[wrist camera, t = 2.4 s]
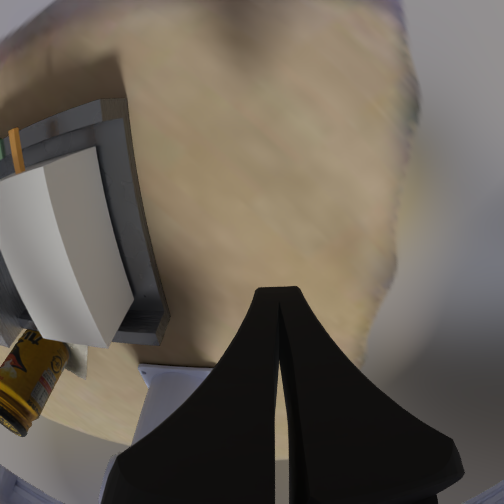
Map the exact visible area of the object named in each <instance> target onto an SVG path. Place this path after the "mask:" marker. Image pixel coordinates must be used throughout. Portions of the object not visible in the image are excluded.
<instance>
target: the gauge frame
mask: <svg viewBox="0 0 504 504" xmlns="http://www.w3.org/2000/svg"><path fill="white" fill-rule="evenodd" d="M19 136H20V143H21V149H22V155H23V161H24V166H25V168H26V167H28V166H30V165H33V164H36V163H39V162H42V161H45V160H48V159H51V158H55V157H58V156H61V155H65V154H68V153H72V152H75V151H79V150H83V149H87V148H90V147H94V146H96V153H97V159H98V164H99V170H100V175H101V180H102V185H103V190H104V194H105V199H106V203H107V208H108V212H109V216H110V220H111V224H112V228H113V232H114V235H115V239H116V243H117V246H118V250H119V253H120V257H121V260H122V263H123V267H124V270H125V273H126V276H127V279H128V282H129V285H130V288H131V291H132V294H133V297H134V301H133V303H132V304H131V306H130V308H129V310H128V312H127V313H126V315H125V317H124V319H123V321H122V323H121V324H120V326H119V328H118V330H117V332H116V334H115V336H114V338H113V340H112V342H119V343H130V344H142V345H156V346H160V344H161V341H162V338H163V336H164V333H165V330H166V328H167V325H168V322H169V320H170V317H171V316H170V313H169V309H168V306H167V302H166V299H165V295H164V292H163V288H162V285H161V281H160V277H159V273H158V269H157V266H156V262H155V258H154V253H153V249H152V245H151V241H150V236H149V232H148V228H147V223H146V218H145V213H144V209H143V204H142V198H141V193H140V188H139V182H138V177H137V171H136V165H135V158H134V152H133V145H132V138H131V130H130V122H129V113H128V104H127V98H114V99H98V100H95V101H92V102H89V103H86V104H83V105H80V106H77V107H75V108H72V109H69V110H66V111H64V112H61V113H58V114H56V115H53V116H51V117H49V118H46V119H44V120H41V121H39V122H37V123H35V124H32V125H30V126H28V127H26V128H24V129H22V130H19ZM14 172H15V169H14V163H13V158H12V152H11V146H10V139H9V136H7V137H5V138H4V139H2V138H0V179H2V178H4V177H6V176H8V175H10V174H12V173H14ZM23 328H25V329H30V330H35V331H39V330H38V329H37V327H36V325H35V323H34V321H33V320H32V318H31V316H30V314H29V312H28V310H27V308H26V306H25V304H24V303H23V301H22V299H21V296H20V294H19V292H18V290H17V288H16V286H15V284H14V282H13V279H12V277H11V275H10V272H9V270H8V268H7V265H6V263H5V260H4V258H3V255H2V253H1V250H0V345H2V346H5V347H8V348H9V347H10V346H11V344H12V343H13V342H14V340H15V339H16V338H17V336H18V335H19V333H20V332H21V331H22V329H23Z"/></svg>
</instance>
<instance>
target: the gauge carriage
mask: <svg viewBox="0 0 504 504" xmlns="http://www.w3.org/2000/svg"><path fill="white" fill-rule="evenodd" d="M8 132H9V139H10V146H11V152H12V158H13V163H14V169H15V172H14V173H12V174H10V175H8V176H6V177H4V178H2V179H0V250H1V253H2V255H3V258H4V260H5V263H6V265H7V268H8V270H9V272H10V275H11V277H12V279H13V282H14V284H15V286H16V288H17V290H18V292H19V294H20V296H21V299H22V301H23V303H24V304H25V306H26V308H27V310H28V312H29V314H30V316H31V318H32V320H33V321H34V323H35V325H36V327H37V329H38V330H39V332H40V334H41V335H42V337H43V338H45V339H50V340H55V341H61V342H67V343H73V344H79V345H86V346H93V347H100V348H108V347H109V345H110V343H111V342H112V340H113V338H114V336H115V334H116V332H117V330H118V328H119V326H120V324H121V323H122V321H123V319H124V317H125V315H126V313H127V312H128V310H129V308H130V306H131V304H132V303H133V301H134V297H133V294H132V291H131V288H130V285H129V282H128V279H127V276H126V273H125V270H124V267H123V263H122V260H121V257H120V253H119V250H118V246H117V243H116V239H115V235H114V232H113V228H112V224H111V220H110V216H109V212H108V208H107V203H106V199H105V194H104V190H103V185H102V180H101V175H100V170H99V164H98V159H97V153H96V146H94V147H90V148H87V149H83V150H79V151H75V152H72V153H68V154H65V155H61V156H58V157H55V158H51V159H48V160H45V161H42V162H39V163H36V164H33V165H30V166H28V167H26V168H25V166H24V161H23V155H22V149H21V143H20V136H19V128H18V127H17V128H13V129H11V130H9V131H8Z"/></svg>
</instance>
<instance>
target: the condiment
mask: <svg viewBox="0 0 504 504" xmlns="http://www.w3.org/2000/svg"><path fill="white" fill-rule="evenodd" d="M69 345H70V346H69ZM71 347H72V348H73V349H72V348H71ZM87 348H88V346H86V345H79V344H73V343H67V342H61V341H55V340H50V339H45V338H43V337H42V335H41V334H40V332H39V331H35V330H30V329H27V330H26V331H25V333H24V334H23V335H22V337H21V338H20V339H19V340H18V343H16V344H15V346H14V348H13V349H12V351H11V352H10V354H9V355H8V356H7V358H6V359H5V361H4V362H3V364H2V365H1V367H0V423H1V424H2V425H3V426H5V427H6V428H7V429H9V430H10V431H12V432H13V433H15V434H16V435H18V436H21V437H25V436H26V435H27V432H28V429H29V428H30V427H31V426H32V421H34V420H36V419H38V418H39V416H40V414H41V412H42V410H43V408H44V406H45V404H46V402H47V400H48V398H49V396H50V394H51V392H52V390H53V388H54V386H55V384H56V383H57V381H58V379H59V377H60V375H61V373H62V372H63V370H64V368H65V369H67V370H68V371H71V372H73V373H74V374H76V375H77V376H78V377H80V378H83V379H84V380H86V372H87V371H86V370H87Z"/></svg>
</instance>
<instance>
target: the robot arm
mask: <svg viewBox="0 0 504 504" xmlns="http://www.w3.org/2000/svg"><path fill="white" fill-rule="evenodd" d="M279 361H280V369H281V376H282V383H283V390H284V397H285V404H286V411H287V420H288V439H289V504H438V499H437V495H436V494H437V493H439V492H441V491H443V490H444V489H446V488H448V487H449V486H451V485H452V484H454V483H456V482H457V481H458V480H460V479H461V478H462V477H463V475H464V473H465V472H464V469H463V465H462V461H461V458H460V455H459V452H458V450H457V448H456V446H455V443H454V441H453V439H451V438H449V437H448V436H446V435H444V434H442V433H440V432H439V431H437V430H435V429H434V428H432V427H430V426H428V425H427V424H425V423H423V422H422V421H420V420H419V419H417V418H416V417H415V416H413V415H412V414H410V413H409V412H408V411H406V410H405V409H403V408H402V407H401V406H399V405H398V404H397V403H396V402H395V401H393V400H392V399H391V398H390V397H388V396H387V395H386V394H385V393H383V392H382V391H381V390H380V389H379V388H377V387H376V386H375V385H374V384H373V383H372V382H371V381H370V380H369V379H367V377H366V376H365V375H364V374H363V373H362V372H361V371H360V370H359V369H358V368H357V367H356V366H355V365H354V364H353V363H352V362H351V361H350V360H349V359H348V358H347V356H346V355H345V354H344V353H343V352H342V351H341V349H340V348H339V347H338V346H337V345H336V343H335V342H334V341H333V340H332V338H331V337H330V336H329V334H328V333H327V332H326V330H325V329H324V327H323V326H322V325H321V323H320V322H319V320H318V319H317V318H316V316H315V314H314V313H313V311H312V310H311V308H310V306H309V305H308V303H307V301H306V300H305V298H304V296H303V294H302V292H301V290H300V288H298V287H297V286H287V287H261V288H258V289H256V290H255V294H254V297H253V300H252V303H251V305H250V308H249V310H248V312H247V314H246V316H245V318H244V320H243V322H242V324H241V326H240V328H239V330H238V332H237V333H236V335H235V337H234V338H233V340H232V342H231V343H230V345H229V347H228V348H227V350H226V351H225V353H224V354H223V356H222V357H221V359H220V360H219V362H218V363H217V364H216V366H215V367H214V368H194V367H176V366H162V365H151V364H139V365H138V370H139V372H140V374H141V376H142V377H143V379H144V381H145V383H146V385H147V387H148V388H149V389H148V392H147V395H146V398H145V401H144V405H143V408H142V411H141V414H140V417H139V421H138V424H137V427H136V431H135V434H134V437H133V441H132V444H131V447H129V448H128V449H127V450H125V451H124V452H122V453H121V452H119V453H118V454H115V455H113V456H111V458H110V460H109V462H108V465H107V468H106V471H105V475H104V478H103V482H102V485H101V490H100V495H99V504H275V408H276V396H277V383H278V370H279ZM0 504H65V503H63V502H61V501H59V500H57V499H55V498H53V497H51V496H49V495H47V494H45V493H44V492H43V491H41V490H40V489H38V488H36V487H34V486H32V485H31V484H29V483H28V482H26V481H24V480H23V479H21V478H20V477H18V476H17V475H15V474H14V473H12V472H11V471H9V470H8V469H6V468H5V467H3V466H2V465H1V464H0ZM462 504H504V480H502V481H501V482H499V483H498V484H496V485H494V486H493V487H491V488H490V489H488V490H486V491H484V492H483V493H481V494H479V495H477V496H475V497H473V498H472V499H470V500H468V501H466V502H464V503H462Z"/></svg>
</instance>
